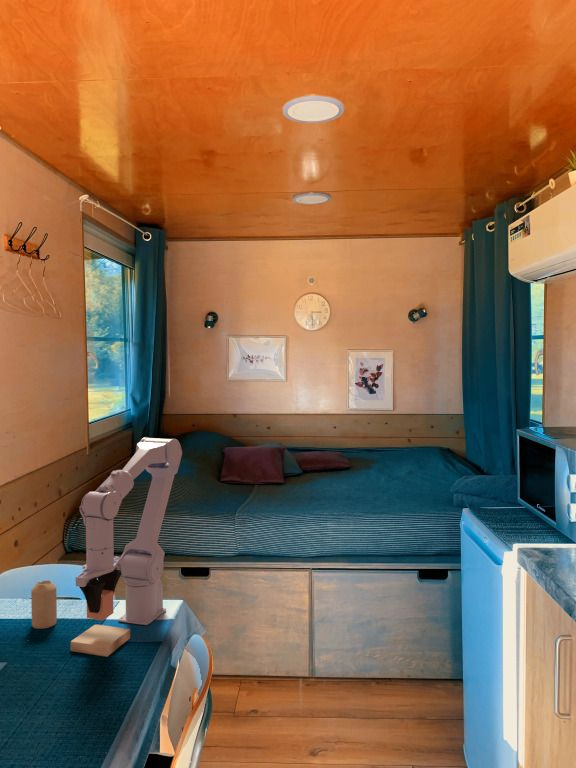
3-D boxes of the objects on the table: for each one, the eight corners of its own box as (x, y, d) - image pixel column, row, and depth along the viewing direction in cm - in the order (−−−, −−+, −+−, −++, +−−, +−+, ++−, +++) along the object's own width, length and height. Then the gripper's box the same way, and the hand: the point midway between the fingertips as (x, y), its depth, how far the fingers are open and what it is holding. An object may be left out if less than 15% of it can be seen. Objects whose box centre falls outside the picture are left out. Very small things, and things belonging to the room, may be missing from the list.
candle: (47, 630, 140) (47, 587, 139) (26, 628, 141) (26, 585, 140) (61, 620, 145) (61, 579, 145) (40, 618, 146) (40, 577, 146)
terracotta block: (97, 611, 135) (97, 588, 135) (113, 613, 134) (113, 590, 133) (86, 618, 131) (86, 595, 131) (102, 620, 130) (102, 597, 130)
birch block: (95, 635, 138) (95, 624, 138) (130, 640, 135) (130, 629, 135) (70, 652, 129) (70, 641, 129) (107, 658, 127) (107, 647, 127)
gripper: (103, 536, 140) (104, 593, 140) (62, 554, 126) (63, 618, 126) (130, 538, 138) (130, 597, 138) (91, 557, 124) (92, 623, 124)
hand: (100, 608), depth 132 cm, fingers closed on terracotta block, 4 cm apart
